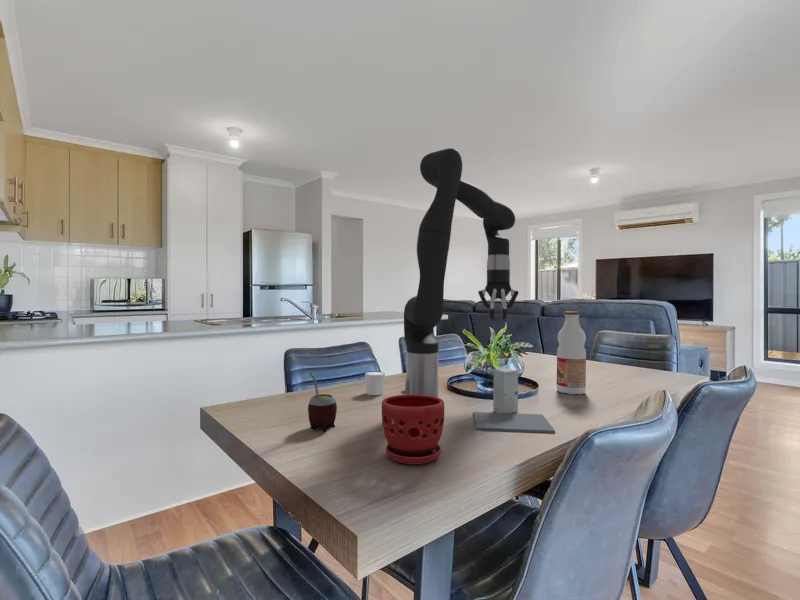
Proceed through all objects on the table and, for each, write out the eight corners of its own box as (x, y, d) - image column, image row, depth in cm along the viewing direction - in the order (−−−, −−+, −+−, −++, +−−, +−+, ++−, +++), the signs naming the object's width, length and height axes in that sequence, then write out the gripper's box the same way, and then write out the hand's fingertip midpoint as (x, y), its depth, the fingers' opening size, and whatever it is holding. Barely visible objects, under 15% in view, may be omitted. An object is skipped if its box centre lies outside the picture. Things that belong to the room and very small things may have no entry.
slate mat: (476, 429, 107) (476, 427, 107) (473, 414, 121) (473, 411, 121) (554, 433, 105) (554, 430, 105) (542, 416, 119) (542, 414, 119)
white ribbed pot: (389, 393, 145) (389, 372, 145) (377, 397, 139) (377, 376, 139) (372, 390, 149) (372, 370, 149) (360, 394, 143) (360, 373, 143)
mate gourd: (333, 422, 112) (333, 365, 112) (340, 431, 105) (340, 370, 105) (304, 425, 110) (304, 367, 109) (309, 435, 102) (309, 372, 102)
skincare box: (503, 415, 120) (504, 372, 120) (492, 411, 124) (492, 369, 124) (518, 411, 124) (519, 369, 123) (507, 408, 127) (507, 367, 127)
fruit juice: (580, 396, 142) (581, 312, 142) (552, 392, 148) (553, 311, 148) (589, 391, 149) (590, 311, 149) (562, 387, 155) (563, 310, 155)
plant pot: (456, 455, 90) (456, 398, 90) (416, 475, 80) (416, 411, 80) (409, 440, 99) (409, 389, 99) (368, 456, 89) (368, 399, 89)
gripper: (478, 268, 141) (477, 320, 141) (521, 268, 139) (521, 321, 140) (476, 269, 148) (476, 319, 149) (517, 269, 147) (517, 319, 147)
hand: (497, 320), depth 144 cm, fingers open, 3 cm apart
